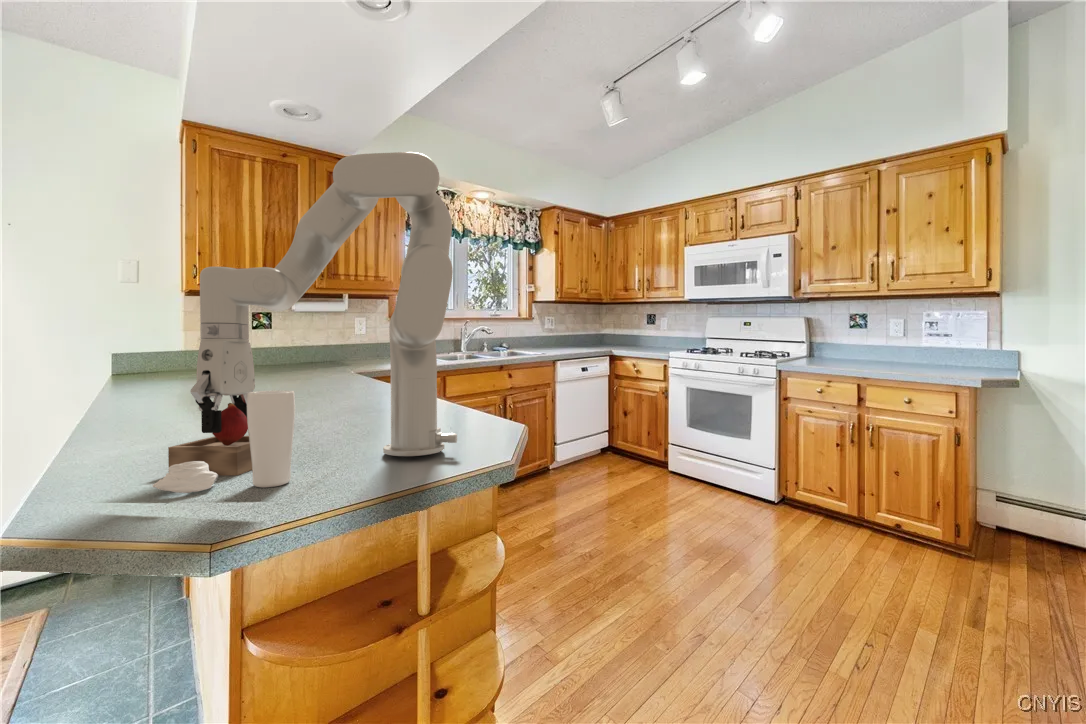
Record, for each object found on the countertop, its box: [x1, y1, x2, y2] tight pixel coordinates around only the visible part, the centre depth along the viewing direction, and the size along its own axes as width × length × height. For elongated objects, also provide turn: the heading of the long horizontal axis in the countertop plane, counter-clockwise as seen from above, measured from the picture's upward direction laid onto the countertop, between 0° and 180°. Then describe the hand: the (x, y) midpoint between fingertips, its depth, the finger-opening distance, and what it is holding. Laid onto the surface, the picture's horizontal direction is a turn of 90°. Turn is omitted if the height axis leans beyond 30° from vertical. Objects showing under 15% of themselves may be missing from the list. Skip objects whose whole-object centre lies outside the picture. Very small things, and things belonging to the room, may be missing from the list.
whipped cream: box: [152, 461, 219, 494], centre depth 72 cm, size 8×7×5 cm
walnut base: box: [167, 435, 252, 477], centre depth 87 cm, size 12×12×5 cm
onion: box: [211, 402, 248, 446], centre depth 88 cm, size 6×6×8 cm
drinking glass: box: [247, 390, 296, 488], centre depth 76 cm, size 7×7×15 cm
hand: (226, 428), depth 87 cm, fingers open, 7 cm apart
